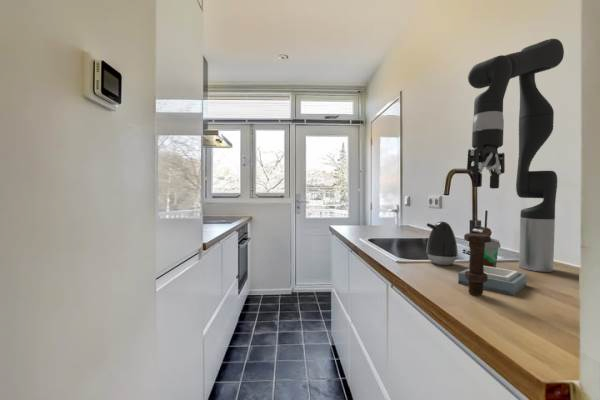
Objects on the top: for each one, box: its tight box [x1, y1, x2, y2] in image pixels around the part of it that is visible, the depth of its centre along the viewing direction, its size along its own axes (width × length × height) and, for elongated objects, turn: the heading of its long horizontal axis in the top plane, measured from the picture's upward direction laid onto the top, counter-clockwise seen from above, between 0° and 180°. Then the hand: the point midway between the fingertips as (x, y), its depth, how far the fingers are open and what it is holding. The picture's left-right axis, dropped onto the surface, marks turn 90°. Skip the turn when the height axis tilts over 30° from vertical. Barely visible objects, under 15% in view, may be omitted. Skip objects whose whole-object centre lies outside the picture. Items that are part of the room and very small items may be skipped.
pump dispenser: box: [425, 221, 459, 266], centre depth 108 cm, size 10×10×15 cm
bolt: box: [463, 233, 492, 297], centre depth 76 cm, size 6×5×15 cm
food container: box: [483, 238, 501, 268], centre depth 101 cm, size 12×6×10 cm, turn 154°
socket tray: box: [457, 266, 527, 296], centre depth 84 cm, size 13×13×4 cm
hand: (485, 187), depth 86 cm, fingers open, 8 cm apart
